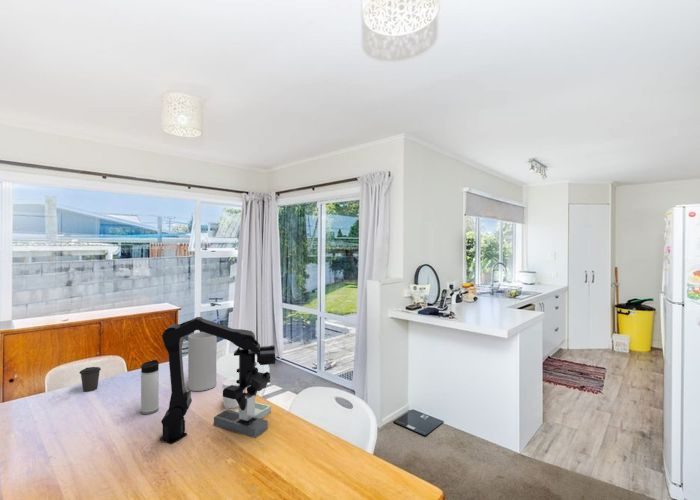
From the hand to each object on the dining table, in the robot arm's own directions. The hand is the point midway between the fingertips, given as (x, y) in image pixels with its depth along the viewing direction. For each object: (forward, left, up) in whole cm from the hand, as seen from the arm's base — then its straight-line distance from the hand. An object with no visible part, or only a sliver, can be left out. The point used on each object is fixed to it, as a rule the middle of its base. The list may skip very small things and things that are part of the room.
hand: (246, 407), depth 128 cm
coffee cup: (-6, +90, -8) cm, 91 cm away
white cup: (+12, +19, -8) cm, 24 cm away
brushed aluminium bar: (0, 0, -4) cm, 4 cm away
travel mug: (-7, +45, -8) cm, 46 cm away
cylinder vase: (+20, +46, -8) cm, 51 cm away
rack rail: (0, +3, -8) cm, 8 cm away
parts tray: (+9, +5, -8) cm, 13 cm away
